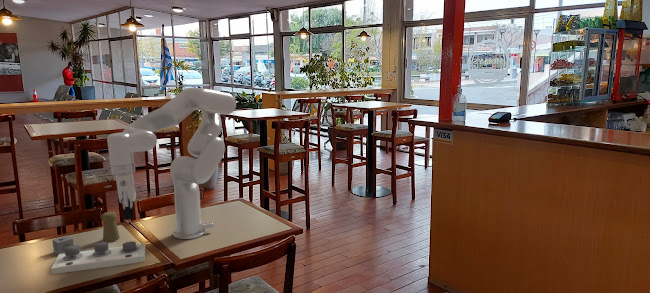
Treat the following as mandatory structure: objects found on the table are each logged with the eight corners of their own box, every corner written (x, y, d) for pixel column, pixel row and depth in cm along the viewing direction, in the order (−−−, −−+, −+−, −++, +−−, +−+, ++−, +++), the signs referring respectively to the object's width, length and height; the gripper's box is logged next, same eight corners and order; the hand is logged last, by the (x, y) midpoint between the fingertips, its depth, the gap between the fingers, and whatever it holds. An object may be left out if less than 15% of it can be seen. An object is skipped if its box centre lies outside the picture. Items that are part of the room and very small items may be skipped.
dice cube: (53, 252, 163) (52, 239, 162) (68, 248, 166) (67, 235, 166) (59, 256, 160) (57, 243, 159) (74, 251, 163) (72, 238, 162)
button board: (145, 248, 166) (145, 242, 165) (144, 261, 155) (143, 255, 154) (59, 259, 157) (59, 253, 156) (51, 274, 145) (50, 267, 145)
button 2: (136, 246, 162) (136, 240, 162) (136, 250, 158) (135, 245, 158) (123, 247, 161) (123, 242, 160) (122, 252, 157) (121, 246, 156)
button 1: (80, 250, 156) (80, 244, 156) (78, 254, 152) (77, 249, 152) (66, 251, 155) (65, 246, 154) (63, 256, 151) (63, 251, 150)
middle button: (109, 246, 159) (108, 241, 159) (107, 251, 155) (107, 245, 155) (95, 248, 158) (94, 242, 157) (93, 253, 154) (93, 247, 153)
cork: (113, 243, 171) (110, 215, 169) (99, 241, 172) (96, 214, 170) (123, 237, 177) (120, 210, 175) (109, 236, 178) (107, 209, 176)
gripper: (133, 172, 149) (139, 224, 152) (136, 162, 162) (141, 210, 166) (108, 175, 146) (115, 228, 150) (113, 164, 160) (119, 213, 164)
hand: (129, 218), depth 158 cm, fingers closed
